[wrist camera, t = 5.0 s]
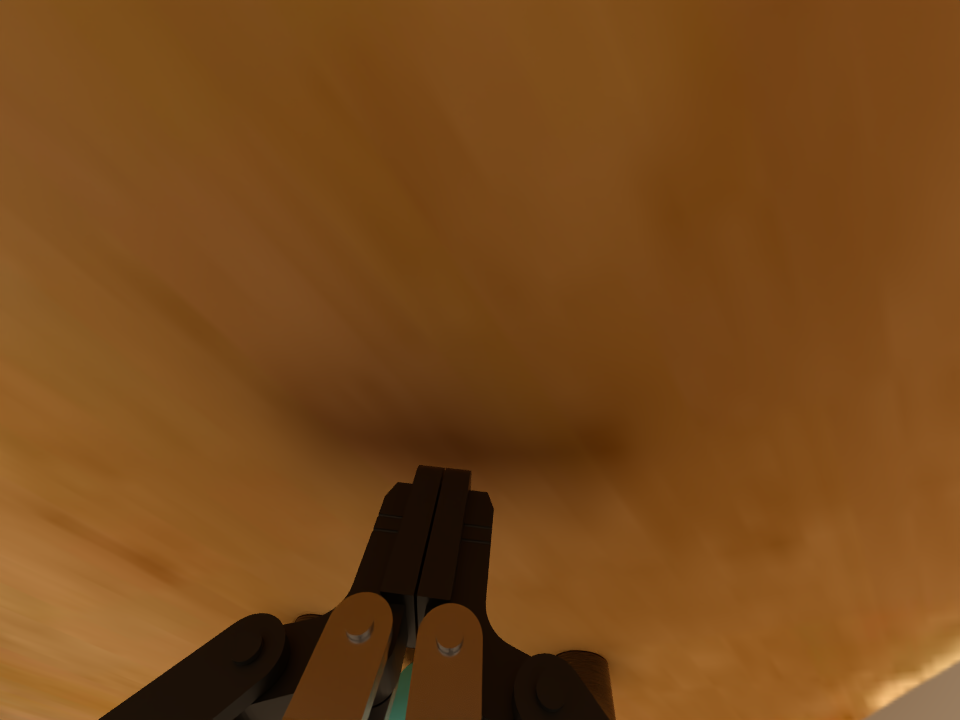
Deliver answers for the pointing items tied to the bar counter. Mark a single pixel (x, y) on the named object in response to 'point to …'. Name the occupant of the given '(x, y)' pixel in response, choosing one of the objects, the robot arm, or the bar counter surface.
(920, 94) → the bar counter surface
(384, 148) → the bar counter surface
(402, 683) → the ball
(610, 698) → the post
